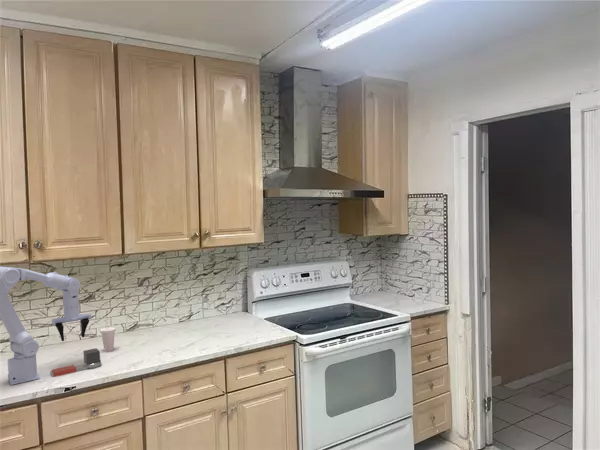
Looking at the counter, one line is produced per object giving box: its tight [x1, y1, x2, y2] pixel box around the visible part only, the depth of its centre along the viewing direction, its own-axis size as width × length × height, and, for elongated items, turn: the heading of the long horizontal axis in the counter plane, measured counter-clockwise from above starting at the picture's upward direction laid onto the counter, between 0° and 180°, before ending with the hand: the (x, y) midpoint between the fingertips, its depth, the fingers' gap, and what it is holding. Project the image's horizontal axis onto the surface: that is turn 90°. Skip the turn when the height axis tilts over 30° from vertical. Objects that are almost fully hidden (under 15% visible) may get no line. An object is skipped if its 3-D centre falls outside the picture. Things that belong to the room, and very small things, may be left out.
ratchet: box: [50, 359, 103, 378], centre depth 185 cm, size 18×6×4 cm, turn 127°
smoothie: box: [100, 319, 116, 353], centre depth 208 cm, size 6×6×14 cm
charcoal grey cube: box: [82, 347, 101, 365], centre depth 188 cm, size 5×5×4 cm
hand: (72, 338), depth 192 cm, fingers open, 7 cm apart
